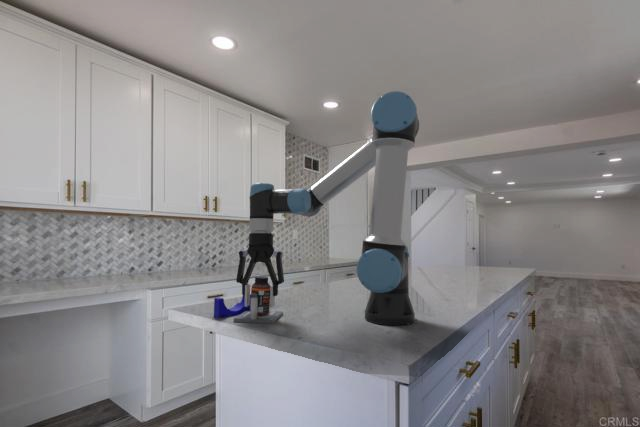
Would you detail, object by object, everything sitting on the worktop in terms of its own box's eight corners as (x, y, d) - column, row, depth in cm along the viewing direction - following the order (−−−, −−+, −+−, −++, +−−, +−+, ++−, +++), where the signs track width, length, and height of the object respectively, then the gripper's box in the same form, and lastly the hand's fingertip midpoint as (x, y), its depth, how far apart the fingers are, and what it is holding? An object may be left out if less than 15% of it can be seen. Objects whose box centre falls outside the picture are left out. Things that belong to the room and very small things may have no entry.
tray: (283, 314, 112) (283, 292, 113) (272, 323, 99) (273, 299, 100) (248, 312, 114) (248, 291, 114) (232, 322, 101) (233, 298, 101)
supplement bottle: (265, 317, 103) (267, 278, 103) (246, 315, 104) (248, 277, 105) (272, 312, 108) (273, 276, 109) (254, 311, 110) (256, 275, 110)
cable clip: (243, 310, 117) (244, 293, 118) (251, 313, 114) (251, 294, 115) (211, 316, 109) (212, 297, 109) (218, 318, 106) (219, 299, 106)
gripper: (295, 232, 111) (294, 304, 109) (235, 232, 113) (233, 302, 112) (290, 232, 103) (288, 309, 102) (225, 232, 106) (223, 307, 104)
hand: (259, 306), depth 107 cm, fingers open, 7 cm apart
